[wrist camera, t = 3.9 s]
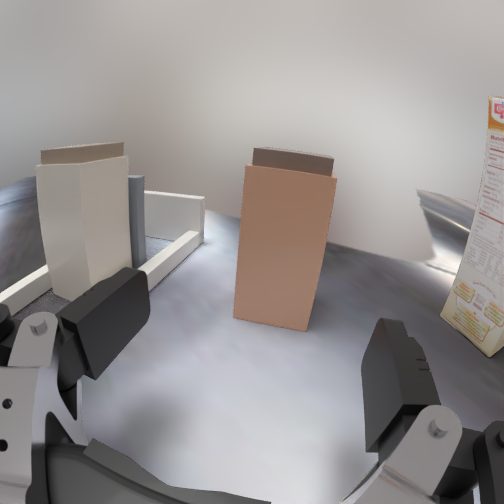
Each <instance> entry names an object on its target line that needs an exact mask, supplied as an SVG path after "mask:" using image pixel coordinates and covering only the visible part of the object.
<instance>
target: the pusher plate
mask: <svg viewBox="0 0 504 504" xmlns="http://www.w3.org/2000/svg"><path fill="white" fill-rule="evenodd" d="M128 189H129V225H130V243H131V256H132V268H134V269H138V268H139V267H141V266H142V265H143V264H145V263H146V244H145V216H144V176H136V175H128Z"/></svg>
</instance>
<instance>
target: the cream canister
mask: <svg viewBox="0 0 504 504" xmlns="http://www.w3.org/2000/svg"><path fill="white" fill-rule="evenodd" d="M123 144H124V143H123V142H121V143H97V144H82V145H74V146H67V147H60V148H53V149H47V150H42V151H41V165H37V166H36V182H37V197H38V208H39V217H40V225H41V232H42V239H43V245H44V250H45V256H46V261H47V266H48V271H49V275H50V280H51V284H52V288H53V292H54V294H55V295H58V296H60V297H62V298H64V299H67V300H69V301H71V302H72V301H74V300H75V299H76V298H78V297H79V296H80V295H81V296H82V294H83V293H84V292H86V291H87V290H90V288H91V287H92V286H94V285H95V284H96V283H98V282H99V281H101V280H104V279H106V278H109V277H111V276H113V275H114V274H115V273H117V272H118V271H120V270H121V269H122V268H124V267H130V268H132V256H131V243H130V225H129V189H128V171H129V170H128V169H129V156H123Z"/></svg>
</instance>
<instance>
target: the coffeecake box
mask: <svg viewBox="0 0 504 504" xmlns="http://www.w3.org/2000/svg"><path fill="white" fill-rule="evenodd" d="M488 100H489V112H488V132H487V143H486V152H485V160H484V167H483V174H482V180H481V185H480V191H479V196H478V201H477V205H476V210H475V214H474V219H473V223H472V226H471V230H470V234H469V237H468V241H467V244H466V248H465V251H464V254H463V257H462V261H461V264H460V266H459V269H458V272H457V275H456V278H455V280H454V283H453V286H452V288H451V291H450V293H449V296H448V298H447V301H446V303H445V306H444V308H443V310H442V312H441V314H440V316H441V317H442V318H443V319H444V320H445V321H447V322H448V323H449V324H450V325H451V326H453V327H454V328H455V329H456V330H458V331H459V332H460V333H462V334H463V335H464V336H466V337H467V338H468V339H469V340H470V341H471V342H472V343H473V344H474V345H475V346H476V347H477V348H479V349H480V350H481V351H482V352H483V353H484V354H485V355H486V356H487V357H491V356H492V355H494V354H495V353H496V352H497V351H499V350H500V349H501V348H502V347H503V346H504V97H499V96H488Z"/></svg>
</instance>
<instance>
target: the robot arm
mask: <svg viewBox="0 0 504 504" xmlns="http://www.w3.org/2000/svg"><path fill="white" fill-rule="evenodd" d="M149 315H150V300H149V290H148V279H147V274H146V272H145V271H142V270H138V269H134V268H130V267H124V268H122V269H121V270H120V271H118V272H117V273H115V274H114V275H113V276H111V277H109V278H106V279H104V280H101V281H99V282H98V283H96V284H95V285H94V286H92V287H91V288H90V290H87V291H86V292H84V293H83V294H82V296H81V295H80V296H79V297H78V298H76V299H75V300H74V301H72V302H71V303H70V304H68V305H67V306H66V307H64V308H63V309H62V310H61V311H59V312H58V313H57V314H55V315H54V314H52V313H49V312H38V313H34V314H32V315H30V316H28V317H27V318H25V319H24V320H23V321H21V320H16V319H12V316H11V313H10V310H9V308H8V306H7V305H5V304H2V303H0V504H271V502H268V501H262V500H257V499H252V498H247V497H242V496H238V495H233V494H229V493H225V492H220V491H206V490H195V489H187V488H179V487H173V486H169V485H167V484H165V483H163V482H162V481H160V480H159V479H157V478H156V477H155V476H153V475H152V474H150V473H149V472H148V471H146V470H145V469H144V468H142V467H141V466H140V465H138V464H137V463H136V462H134V461H133V460H132V459H131V458H129V457H128V456H125V455H123V454H121V453H119V452H117V451H116V450H114V449H112V448H110V447H108V446H106V445H104V444H103V443H101V442H99V441H97V440H95V439H94V438H93V439H92V440H91V442H90V443H89V444H88V442H87V439H86V436H85V434H84V430H83V420H82V384H81V381H80V378H81V376H82V375H83V374H84V375H86V376H88V377H90V378H92V379H94V380H97V378H98V377H99V376H100V375H101V374H102V373H103V371H104V370H105V369H106V368H107V367H108V366H109V365H110V363H111V362H112V361H113V360H114V359H115V358H116V357H117V355H118V354H119V353H120V352H121V351H122V350H123V349H124V347H125V346H126V345H127V344H128V343H129V342H130V341H131V340H132V338H133V337H134V336H135V335H136V334H137V333H138V332H139V331H140V330H141V328H142V327H143V326H144V325H145V324H146V322H147V321H148V318H149ZM429 370H430V368H429V365H428V362H426V357H425V354H424V351H423V349H422V347H421V346H420V345H419V344H418V342H417V341H416V340H415V339H414V338H413V337H408V335H407V332H406V329H405V326H404V324H403V322H402V321H400V320H392V319H385V318H380V319H379V320H378V322H377V324H376V327H375V329H374V332H373V334H372V337H371V339H370V342H369V344H368V346H367V349H366V351H365V354H364V356H363V360H362V366H361V375H362V386H363V399H364V415H365V440H366V452H375V453H378V457H379V460H378V461H377V462H376V463H375V464H374V466H373V467H372V468H371V469H370V470H369V471H368V473H367V474H366V475H365V476H364V477H363V478H362V479H361V480H360V481H359V483H358V484H357V485H356V486H355V487H354V488H353V489H352V490H351V491H350V492H349V493H348V494H347V495H346V496H345V497H344V498H343V499H342V500H341V501H340V502H339V503H338V504H474V497H473V489H474V488H475V487H477V486H478V485H479V491H480V502H481V504H504V422H503V421H494V422H492V423H491V424H490V425H489V426H488V427H487V428H486V429H485V430H484V431H483V432H479V431H475V430H471V429H466V428H463V427H462V425H461V422H460V419H459V418H458V416H457V415H456V414H455V413H454V412H453V411H452V410H450V409H449V408H447V407H444V406H441V403H440V400H439V396H438V393H437V390H436V386H435V383H434V380H433V377H432V374H431V372H429Z"/></svg>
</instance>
